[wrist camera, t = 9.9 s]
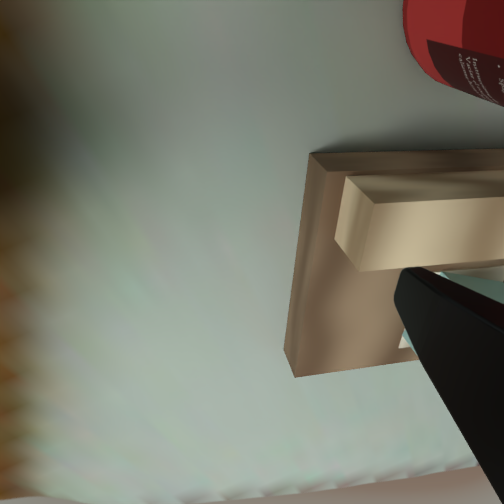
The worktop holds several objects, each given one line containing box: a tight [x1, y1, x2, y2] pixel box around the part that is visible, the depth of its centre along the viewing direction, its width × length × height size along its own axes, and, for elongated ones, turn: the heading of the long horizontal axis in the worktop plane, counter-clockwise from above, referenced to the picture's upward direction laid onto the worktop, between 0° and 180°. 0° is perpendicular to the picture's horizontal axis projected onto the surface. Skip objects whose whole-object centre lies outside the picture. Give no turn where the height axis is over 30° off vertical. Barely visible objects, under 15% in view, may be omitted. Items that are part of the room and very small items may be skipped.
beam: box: [335, 170, 504, 272], centre depth 22 cm, size 12×4×3 cm, turn 87°
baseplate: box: [284, 148, 504, 378], centre depth 27 cm, size 14×14×3 cm
